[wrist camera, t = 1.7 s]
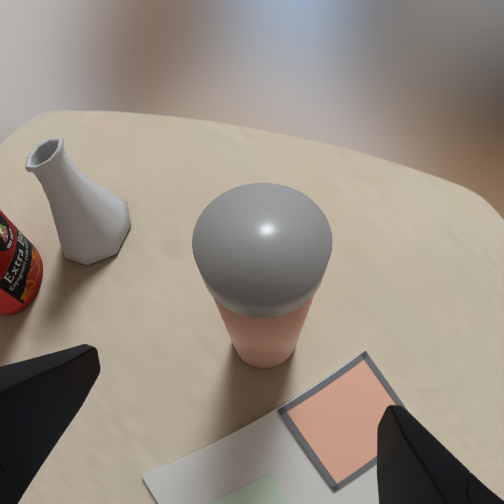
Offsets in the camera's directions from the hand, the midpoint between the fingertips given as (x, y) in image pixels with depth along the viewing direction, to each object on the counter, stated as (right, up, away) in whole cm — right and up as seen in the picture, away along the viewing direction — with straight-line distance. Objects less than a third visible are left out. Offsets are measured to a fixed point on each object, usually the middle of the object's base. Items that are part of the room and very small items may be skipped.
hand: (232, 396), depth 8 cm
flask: (-13, +6, +18) cm, 23 cm away
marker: (+1, -2, +12) cm, 13 cm away
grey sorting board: (+6, -14, +5) cm, 16 cm away
